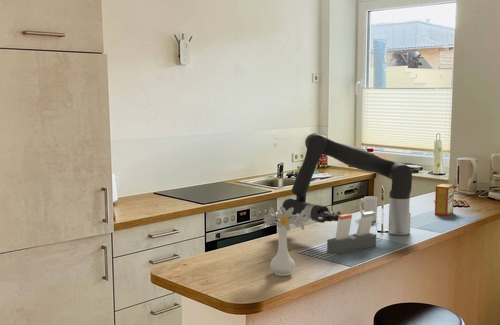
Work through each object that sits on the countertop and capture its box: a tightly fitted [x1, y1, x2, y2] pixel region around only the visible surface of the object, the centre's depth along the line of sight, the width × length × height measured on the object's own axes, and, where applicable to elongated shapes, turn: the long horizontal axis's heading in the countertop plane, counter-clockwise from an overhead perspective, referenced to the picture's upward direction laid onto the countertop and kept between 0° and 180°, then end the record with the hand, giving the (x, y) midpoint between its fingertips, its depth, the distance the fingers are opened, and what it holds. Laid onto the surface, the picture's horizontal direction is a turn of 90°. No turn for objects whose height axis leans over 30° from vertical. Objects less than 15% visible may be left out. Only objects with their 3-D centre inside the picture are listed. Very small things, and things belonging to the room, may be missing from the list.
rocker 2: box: [355, 211, 375, 236], centre depth 245 cm, size 6×2×11 cm, turn 124°
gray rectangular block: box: [326, 232, 377, 255], centre depth 244 cm, size 23×6×6 cm, turn 124°
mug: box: [358, 195, 378, 222], centre depth 296 cm, size 10×7×12 cm, turn 51°
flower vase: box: [261, 205, 309, 277], centre depth 211 cm, size 13×18×25 cm
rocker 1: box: [334, 212, 353, 240], centre depth 239 cm, size 6×2×11 cm, turn 124°
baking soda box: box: [434, 183, 455, 217], centre depth 309 cm, size 10×6×16 cm
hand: (343, 219), depth 239 cm, fingers closed
